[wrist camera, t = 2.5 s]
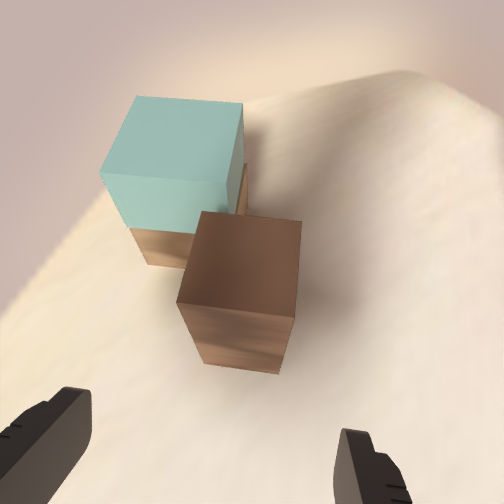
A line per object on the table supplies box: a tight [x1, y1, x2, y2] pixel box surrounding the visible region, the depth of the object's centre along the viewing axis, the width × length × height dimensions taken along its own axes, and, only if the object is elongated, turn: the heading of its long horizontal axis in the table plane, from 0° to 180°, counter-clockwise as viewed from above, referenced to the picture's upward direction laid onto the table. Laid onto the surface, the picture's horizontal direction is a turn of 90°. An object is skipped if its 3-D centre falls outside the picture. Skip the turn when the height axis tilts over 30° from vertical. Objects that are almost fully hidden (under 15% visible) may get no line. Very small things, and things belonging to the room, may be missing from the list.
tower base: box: [129, 163, 248, 269], centre depth 27 cm, size 7×7×5 cm
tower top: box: [99, 96, 244, 234], centre depth 22 cm, size 7×7×5 cm
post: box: [176, 211, 302, 374], centre depth 20 cm, size 5×5×10 cm
